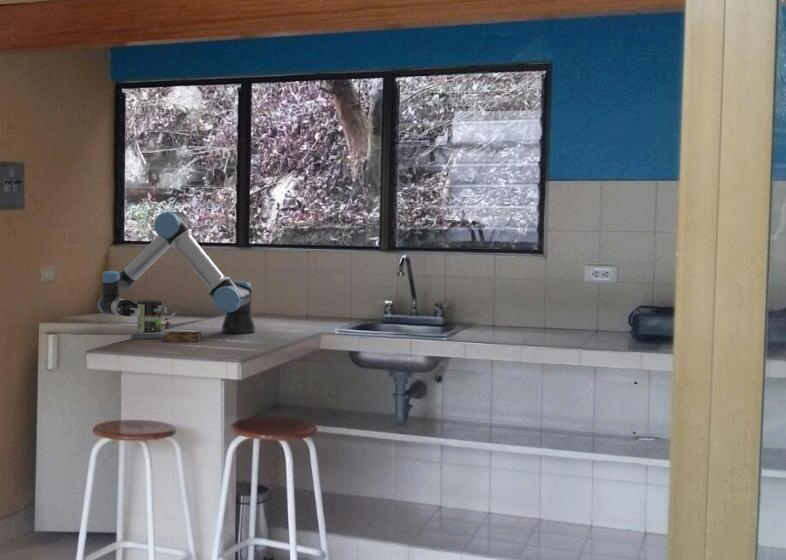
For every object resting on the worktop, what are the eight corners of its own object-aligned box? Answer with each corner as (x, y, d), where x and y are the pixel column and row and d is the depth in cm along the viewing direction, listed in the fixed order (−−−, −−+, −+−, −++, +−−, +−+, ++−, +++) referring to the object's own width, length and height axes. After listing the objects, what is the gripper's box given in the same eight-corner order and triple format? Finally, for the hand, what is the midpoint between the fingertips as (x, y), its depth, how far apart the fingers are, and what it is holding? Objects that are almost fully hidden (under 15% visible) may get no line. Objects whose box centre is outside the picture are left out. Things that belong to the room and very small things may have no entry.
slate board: (166, 334, 406) (166, 331, 406) (162, 338, 393) (162, 335, 393) (136, 334, 404) (136, 331, 404) (131, 338, 392) (131, 335, 391)
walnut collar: (201, 337, 400) (201, 331, 400) (198, 341, 386) (198, 335, 386) (167, 337, 398) (168, 331, 398) (163, 341, 384) (163, 335, 384)
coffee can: (165, 332, 402) (166, 300, 402) (154, 335, 392) (154, 302, 392) (144, 331, 405) (144, 299, 404) (132, 334, 395) (132, 301, 394)
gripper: (146, 313, 419) (176, 317, 406) (99, 317, 400) (128, 321, 387) (146, 297, 419) (176, 300, 406) (99, 300, 399) (128, 304, 386)
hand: (153, 311), depth 396 cm, fingers open, 13 cm apart
